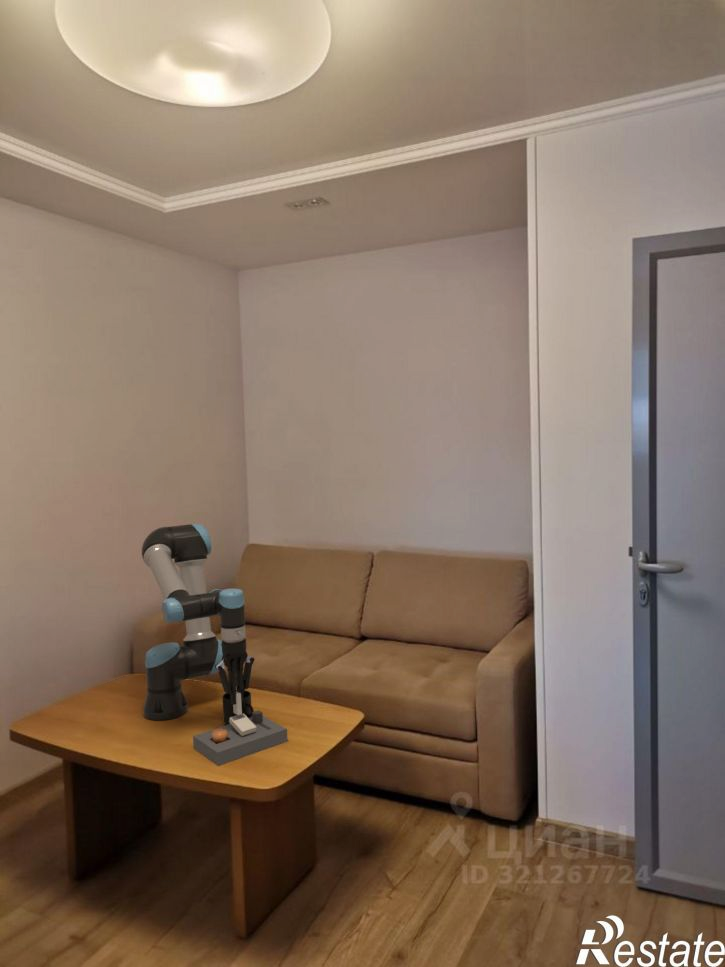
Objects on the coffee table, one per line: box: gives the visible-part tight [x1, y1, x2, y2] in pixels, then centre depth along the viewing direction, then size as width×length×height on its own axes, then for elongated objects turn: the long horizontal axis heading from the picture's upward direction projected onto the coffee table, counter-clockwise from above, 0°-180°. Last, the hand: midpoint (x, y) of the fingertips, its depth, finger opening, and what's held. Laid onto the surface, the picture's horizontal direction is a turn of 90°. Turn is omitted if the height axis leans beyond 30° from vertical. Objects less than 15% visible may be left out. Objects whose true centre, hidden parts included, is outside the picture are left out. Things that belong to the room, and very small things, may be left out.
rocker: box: [229, 713, 257, 736], centre depth 227 cm, size 8×5×2 cm, turn 39°
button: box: [212, 729, 227, 744], centre depth 222 cm, size 4×4×6 cm
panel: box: [192, 715, 288, 767], centre depth 227 cm, size 16×24×5 cm, turn 129°
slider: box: [252, 710, 264, 723], centre depth 234 cm, size 2×2×3 cm
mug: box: [221, 689, 254, 726], centre depth 245 cm, size 9×12×9 cm
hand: (237, 713), depth 229 cm, fingers closed
